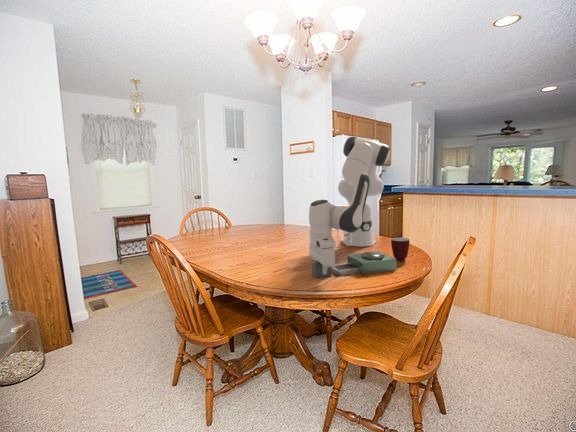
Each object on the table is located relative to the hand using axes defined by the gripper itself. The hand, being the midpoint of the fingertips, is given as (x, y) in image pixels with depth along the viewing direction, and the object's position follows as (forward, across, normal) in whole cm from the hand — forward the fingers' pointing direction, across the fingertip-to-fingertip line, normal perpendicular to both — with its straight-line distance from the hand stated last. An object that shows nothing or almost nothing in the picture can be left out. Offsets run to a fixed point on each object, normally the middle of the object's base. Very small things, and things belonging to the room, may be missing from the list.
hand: (321, 271), depth 127 cm
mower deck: (+2, -1, +19) cm, 19 cm away
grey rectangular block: (+2, 0, 0) cm, 2 cm away
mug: (+2, -5, +42) cm, 42 cm away
